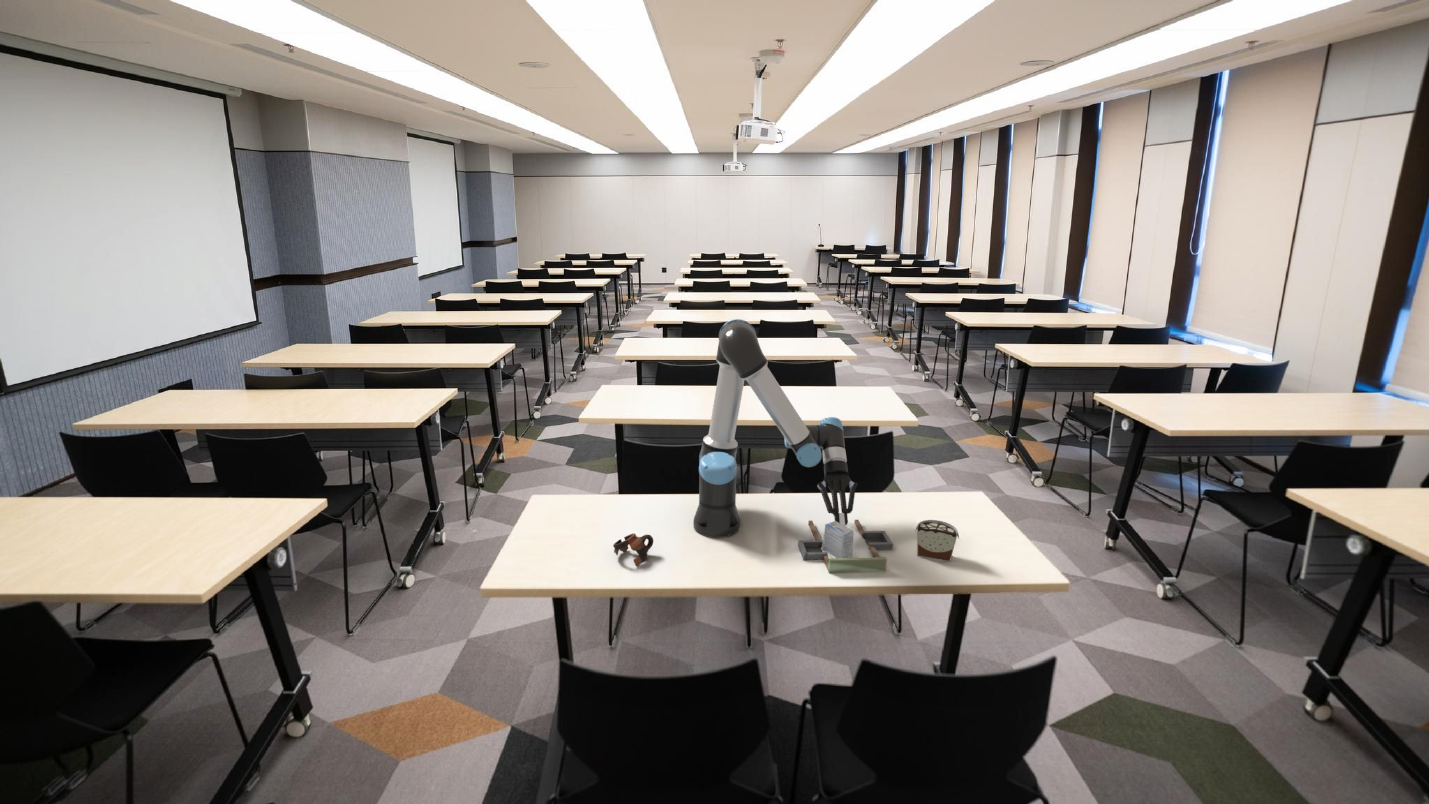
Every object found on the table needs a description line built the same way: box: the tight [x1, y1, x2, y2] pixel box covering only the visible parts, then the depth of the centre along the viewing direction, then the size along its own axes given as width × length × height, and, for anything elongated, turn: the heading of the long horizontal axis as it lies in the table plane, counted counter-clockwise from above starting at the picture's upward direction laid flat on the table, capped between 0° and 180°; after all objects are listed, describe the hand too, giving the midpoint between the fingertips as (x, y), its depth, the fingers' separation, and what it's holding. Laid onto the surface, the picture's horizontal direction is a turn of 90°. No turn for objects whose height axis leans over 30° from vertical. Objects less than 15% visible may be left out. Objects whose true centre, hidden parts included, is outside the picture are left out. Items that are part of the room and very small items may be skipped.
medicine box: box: [823, 520, 855, 558], centre depth 202 cm, size 8×4×9 cm, turn 35°
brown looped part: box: [612, 533, 654, 567], centre depth 199 cm, size 12×10×8 cm
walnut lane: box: [808, 519, 888, 574], centre depth 207 cm, size 29×16×4 cm, turn 4°
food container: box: [914, 519, 960, 563], centre depth 202 cm, size 12×6×10 cm, turn 71°
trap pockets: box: [797, 530, 894, 561], centre depth 206 cm, size 13×28×2 cm, turn 94°
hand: (842, 534), depth 209 cm, fingers closed
